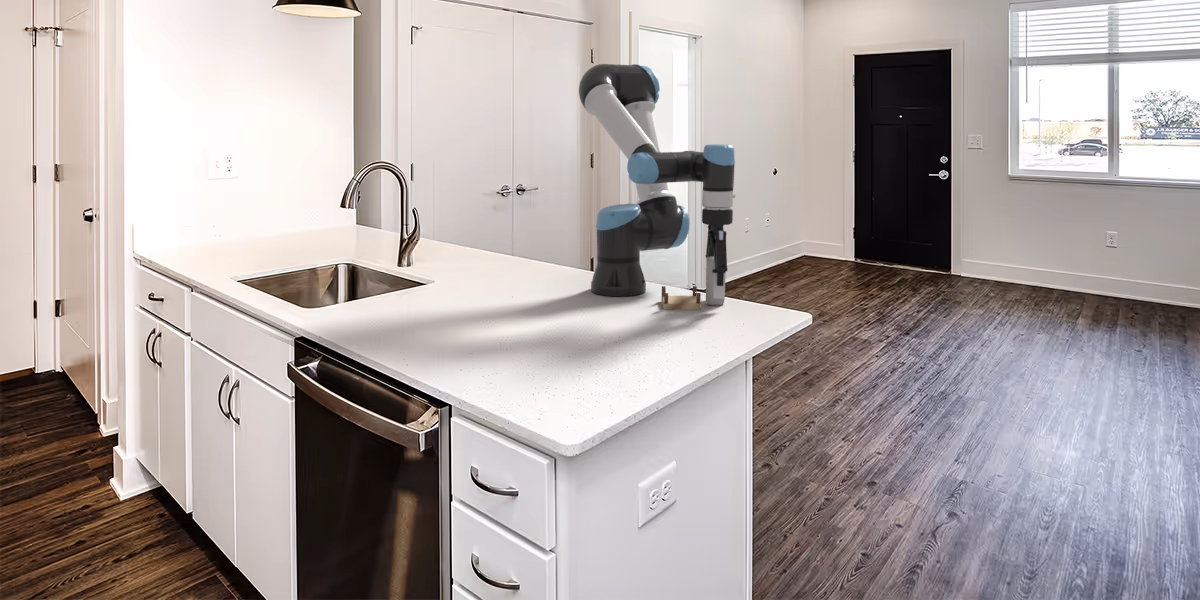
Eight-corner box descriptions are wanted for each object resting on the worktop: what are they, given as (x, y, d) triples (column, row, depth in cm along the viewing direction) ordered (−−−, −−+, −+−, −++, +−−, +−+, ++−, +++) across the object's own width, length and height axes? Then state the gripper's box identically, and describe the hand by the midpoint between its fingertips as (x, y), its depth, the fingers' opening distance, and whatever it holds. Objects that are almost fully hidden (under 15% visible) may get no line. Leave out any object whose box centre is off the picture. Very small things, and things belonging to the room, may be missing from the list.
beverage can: (709, 306, 192) (711, 259, 189) (702, 302, 196) (703, 256, 194) (727, 305, 193) (729, 258, 190) (719, 301, 198) (720, 255, 195)
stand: (664, 309, 189) (664, 293, 188) (661, 301, 198) (661, 286, 197) (700, 309, 189) (700, 293, 188) (696, 301, 198) (696, 286, 197)
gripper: (741, 213, 177) (738, 303, 182) (724, 202, 201) (722, 282, 206) (709, 213, 177) (706, 303, 182) (696, 202, 201) (694, 282, 206)
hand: (715, 292), depth 194 cm, fingers open, 12 cm apart
